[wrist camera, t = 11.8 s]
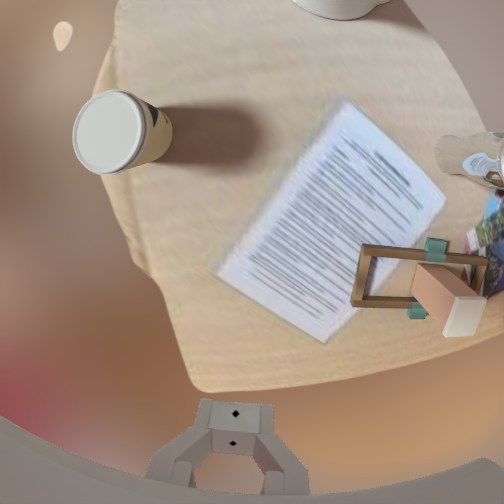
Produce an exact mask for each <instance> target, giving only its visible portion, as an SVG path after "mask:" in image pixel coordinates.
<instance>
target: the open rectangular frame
mask: <svg viewBox="0 0 504 504" xmlns="http://www.w3.org/2000/svg"><path fill="white" fill-rule="evenodd" d="M446 244H447V242H445V241H444V240H442V239H435V238H427V241H426V246H425V250H421V249H411V248H401V247H391V246H380V245H370V244H362V246H361V251H360V257H359V262H358V267H357V272H356V277H355V282H354V286H353V291H352V296H351V300H350V303H351V305H352V307H363V308H407V309H408V313H407V315H408V316H409V318H410V319H425V317H426V314H427V311H426V310H425V309H424V307H423V306H422V305H421V304H420V303H419V302H418V301H417V299H416V298H414V297H383V296H363V293H364V288H365V284H366V279H367V275H368V270H369V265H370V260H371V256H376V257H388V258H400V259H412V260H424V261H435V262H447V263H458V264H470V265H477V266H476V270H475V273H474V277H473V280H472V283H471V286H470V288H471V289H472V290H473V291H475V292H476V293H477V294H478V293H479V290H480V287H481V284H482V281H483V277H484V274H485V271H486V267H487V264H488V260H489V259H487V258H485V257H484V256H476V255H467V254H458V253H449V252H445V249H446Z"/></svg>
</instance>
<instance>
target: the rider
mask: <svg viewBox="0 0 504 504" xmlns="http://www.w3.org/2000/svg"><path fill="white" fill-rule="evenodd" d="M410 293H411V294H412V295H413V296H414V297H415V298H416V299H417V301H418V302H419V303H420V304H421V305H422V306H423V307H424V309H425V310H426V311H427V312H428V313H429V315H430V316H431V317H432V318H433V319H434V320H435V322H436V323H437V324H438V325H439V326H440V328H441V329H442V330H443V335H444V336H445V337H459V336H471V335H474V333H475V330H476V328H477V326H478V323H479V321H480V318H481V316H482V313H483V311H484V308H485V305H486V302H487V299H486V298H485V297H480V296H479V295H478V294H477V293H476V292H475V291H473V290H472V289H471V288H470V287H469V286H467V285H466V284H465V283H464V282H462V281H461V280H460V279H459V278H458V277H456V276H455V275H454V274H453V273H451V272H450V271H449V270H447V269H446V268H445V267H444V266H442V265H432V264H420V263H418V265H417V269H416V273H415V277H414V281H413V284H412V288H411V292H410Z"/></svg>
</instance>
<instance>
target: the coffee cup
mask: <svg viewBox="0 0 504 504" xmlns="http://www.w3.org/2000/svg"><path fill="white" fill-rule="evenodd" d="M172 137H173V128H172V124H171V121H170V119H169V118H168V116H167V115H166V114H165V113H163V112H162V111H160V110H159V109H157V108H155V107H154V106H152V105H150V104H148V103H146V102H145V101H143V100H141V99H139V98H137V97H136V96H135V95H133V94H132V93H130V92H128V91H124V90H119V89H113V90H107V91H104V92H102V93H99V94H98V95H96V96H94V97H93V98H92V99H90V100H89V101H88V102H87V103H86V104H85V105H84V106H83V108H82V109H81V111H80V112H79V114H78V116H77V118H76V121H75V124H74V129H73V146H74V150H75V153H76V155H77V157H78V159H79V161H80V162H81V163H82V164H83V165H84V166H85V167H86V168H87V169H88V170H90V171H92V172H94V173H96V174H99V175H115V174H118V173H121V172H123V171H125V170H127V169H130V168H133V167H136V166H139V165H142V164H145V163H148V162H151V161H154V160H156V159H158V158H160V157H161V156H162V155H163V154H164V153H165V152H166V151H167V150H168V148H169V146H170V144H171V141H172Z"/></svg>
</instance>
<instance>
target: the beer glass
mask: <svg viewBox="0 0 504 504" xmlns="http://www.w3.org/2000/svg"><path fill="white" fill-rule="evenodd" d="M435 158H436V162H437V164H438V166H439V167H440V169H441V170H442V171H443V172H445V173H447V174H463V175H465V176H467V177H469V178H471V179H473V180H475V181H476V182H478V183H480V184H483V185H485V186H488V187H491V188H495V189H499V190H504V133H500V132H482V133H477V134H473V135H470V136H467V137H463V138H460V137H456V136H453V135H445V136H442V137H441V138H440V139H439V140H438V142H437V144H436V147H435Z"/></svg>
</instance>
